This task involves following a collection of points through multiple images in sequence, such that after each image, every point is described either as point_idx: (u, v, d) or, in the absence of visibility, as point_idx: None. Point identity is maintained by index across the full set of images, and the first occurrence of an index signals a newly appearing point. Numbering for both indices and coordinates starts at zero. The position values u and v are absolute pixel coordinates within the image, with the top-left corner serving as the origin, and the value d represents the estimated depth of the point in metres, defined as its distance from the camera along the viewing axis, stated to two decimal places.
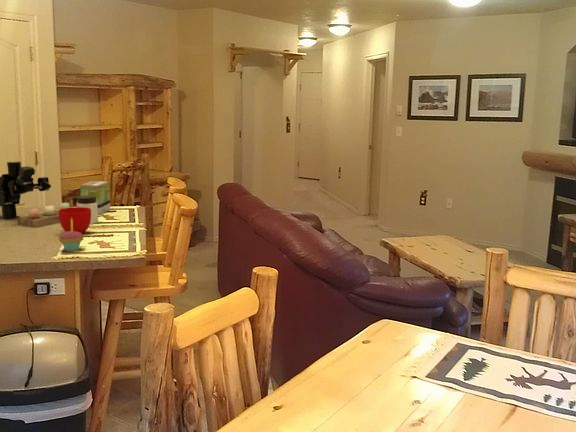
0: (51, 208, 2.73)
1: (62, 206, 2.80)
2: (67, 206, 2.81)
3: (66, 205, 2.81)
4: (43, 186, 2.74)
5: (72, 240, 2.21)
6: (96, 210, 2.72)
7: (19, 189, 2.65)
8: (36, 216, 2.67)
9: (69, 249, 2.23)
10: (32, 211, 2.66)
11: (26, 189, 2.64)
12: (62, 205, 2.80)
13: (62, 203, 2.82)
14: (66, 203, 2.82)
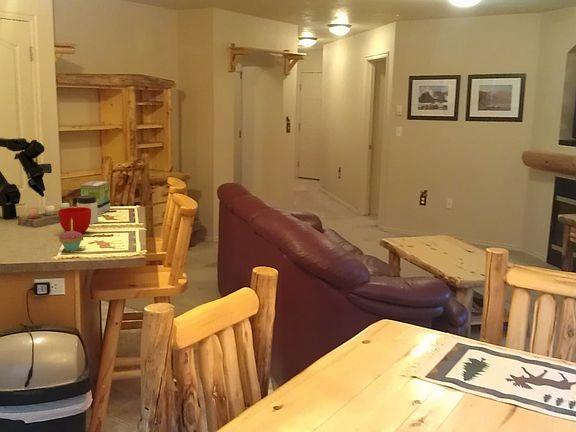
0: (51, 208, 2.73)
1: (62, 206, 2.80)
2: (67, 206, 2.81)
3: (66, 205, 2.81)
4: (36, 186, 2.76)
5: (72, 240, 2.21)
6: (96, 210, 2.72)
7: (36, 177, 2.66)
8: (36, 216, 2.67)
9: (69, 249, 2.23)
10: (32, 211, 2.66)
11: (40, 184, 2.67)
12: (62, 205, 2.80)
13: (62, 203, 2.82)
14: (66, 203, 2.82)
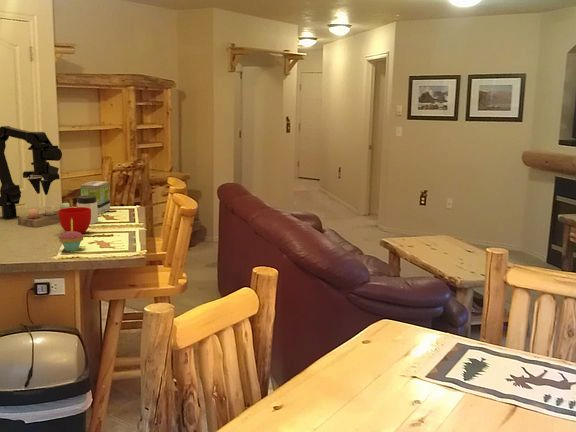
0: (51, 208, 2.73)
1: (62, 206, 2.80)
2: (67, 206, 2.81)
3: (66, 205, 2.81)
4: (36, 182, 2.74)
5: (72, 240, 2.21)
6: (96, 210, 2.72)
7: None
8: (36, 216, 2.67)
9: (69, 249, 2.23)
10: (32, 211, 2.66)
11: (46, 188, 2.71)
12: (62, 205, 2.80)
13: (62, 203, 2.82)
14: (66, 203, 2.82)
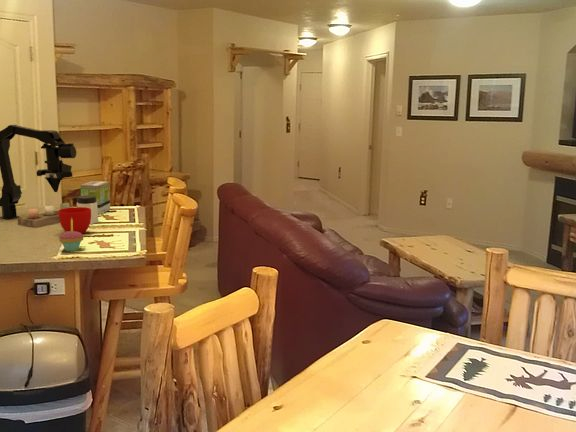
0: (51, 208, 2.73)
1: (62, 206, 2.80)
2: (67, 206, 2.81)
3: (66, 205, 2.81)
4: None
5: (72, 240, 2.21)
6: (96, 210, 2.72)
7: (56, 178, 2.75)
8: (36, 216, 2.67)
9: (69, 249, 2.23)
10: (32, 211, 2.66)
11: (56, 185, 2.76)
12: (62, 205, 2.80)
13: (62, 203, 2.82)
14: (66, 203, 2.82)
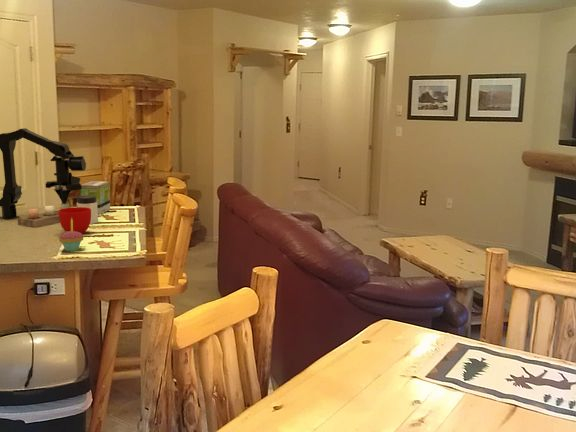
0: (51, 208, 2.73)
1: (62, 206, 2.80)
2: (67, 206, 2.81)
3: (66, 205, 2.81)
4: None
5: (72, 240, 2.21)
6: (96, 210, 2.72)
7: (66, 190, 2.79)
8: (36, 216, 2.67)
9: (69, 249, 2.23)
10: (32, 211, 2.66)
11: (65, 197, 2.80)
12: (62, 205, 2.80)
13: (62, 203, 2.82)
14: (66, 203, 2.82)
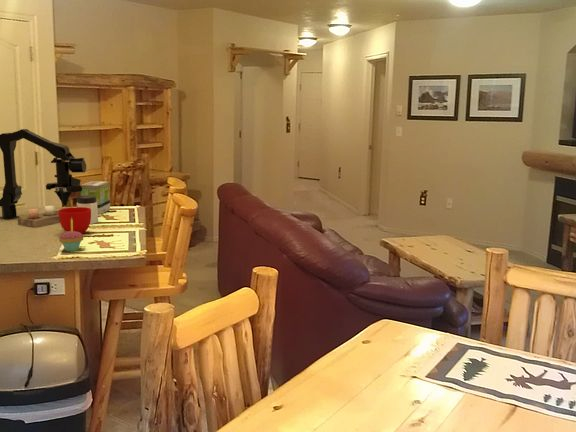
0: (51, 208, 2.73)
1: None
2: None
3: None
4: None
5: (72, 240, 2.21)
6: (96, 210, 2.72)
7: (66, 192, 2.79)
8: (36, 216, 2.67)
9: (69, 249, 2.23)
10: (32, 211, 2.66)
11: (65, 199, 2.80)
12: None
13: (62, 208, 2.83)
14: None
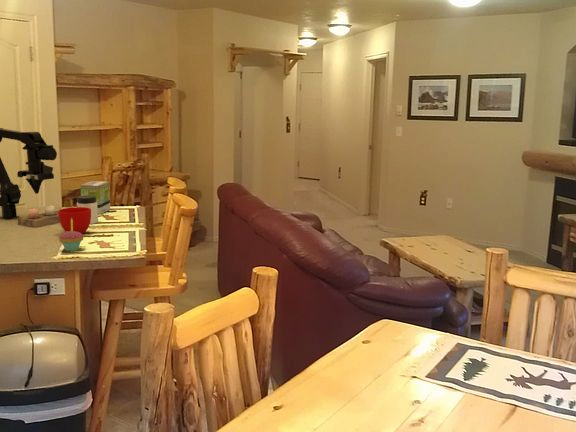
0: (51, 208, 2.73)
1: None
2: None
3: None
4: None
5: (72, 240, 2.21)
6: (96, 210, 2.72)
7: (37, 180, 2.73)
8: (36, 216, 2.67)
9: (69, 249, 2.23)
10: (32, 211, 2.66)
11: (37, 187, 2.75)
12: None
13: (62, 208, 2.83)
14: None
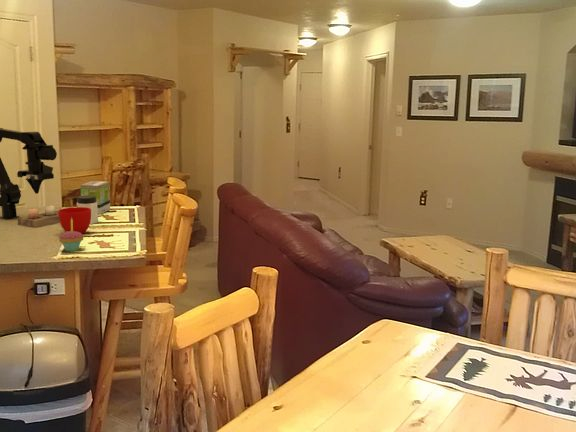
0: (51, 208, 2.73)
1: None
2: None
3: None
4: None
5: (72, 240, 2.21)
6: (96, 210, 2.72)
7: (37, 180, 2.73)
8: (36, 216, 2.67)
9: (69, 249, 2.23)
10: (32, 211, 2.66)
11: (37, 187, 2.75)
12: None
13: (62, 208, 2.83)
14: None
